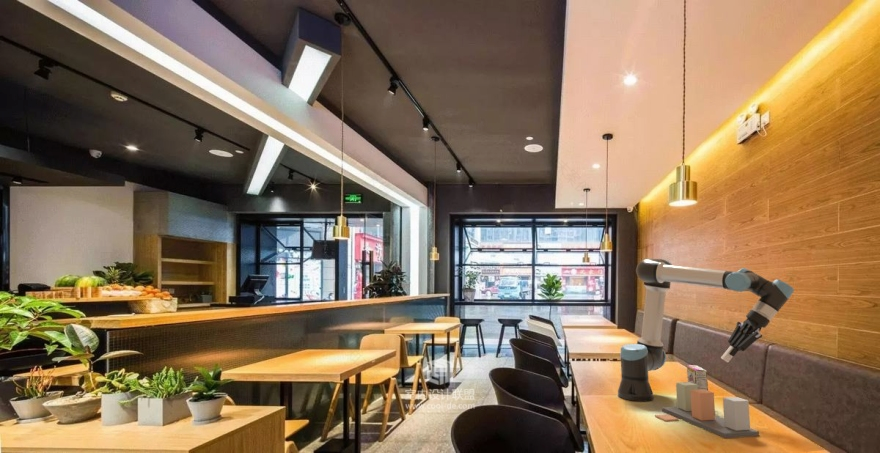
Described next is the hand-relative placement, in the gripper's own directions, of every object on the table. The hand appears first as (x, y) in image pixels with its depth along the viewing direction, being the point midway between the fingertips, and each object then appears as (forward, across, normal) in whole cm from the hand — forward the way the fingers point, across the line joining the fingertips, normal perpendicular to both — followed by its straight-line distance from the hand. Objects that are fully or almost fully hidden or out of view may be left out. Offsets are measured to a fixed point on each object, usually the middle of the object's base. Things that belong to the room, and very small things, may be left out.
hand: (724, 360), depth 187 cm
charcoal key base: (+23, -16, +1) cm, 28 cm away
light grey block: (+17, -26, 0) cm, 31 cm away
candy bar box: (+23, +6, -9) cm, 26 cm away
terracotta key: (+22, -16, +3) cm, 27 cm away
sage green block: (+25, -4, +2) cm, 25 cm away
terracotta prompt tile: (+31, -12, +12) cm, 36 cm away
